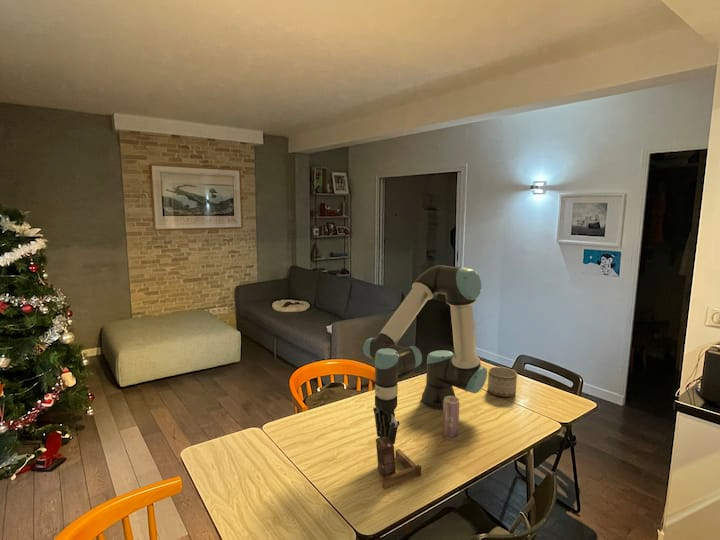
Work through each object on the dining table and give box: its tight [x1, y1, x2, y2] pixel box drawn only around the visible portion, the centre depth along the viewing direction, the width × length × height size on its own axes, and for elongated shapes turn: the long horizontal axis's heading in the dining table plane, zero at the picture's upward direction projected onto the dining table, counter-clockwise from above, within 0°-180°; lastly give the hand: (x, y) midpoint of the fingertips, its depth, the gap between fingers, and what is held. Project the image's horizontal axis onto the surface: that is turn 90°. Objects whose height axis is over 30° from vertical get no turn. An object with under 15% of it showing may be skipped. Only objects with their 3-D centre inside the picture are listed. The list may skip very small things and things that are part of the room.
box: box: [375, 436, 397, 478], centre depth 132 cm, size 6×4×12 cm
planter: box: [487, 366, 518, 398], centre depth 192 cm, size 13×13×10 cm
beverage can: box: [441, 396, 460, 440], centre depth 155 cm, size 6×6×15 cm
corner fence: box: [381, 448, 422, 490], centre depth 135 cm, size 12×14×3 cm
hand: (385, 459), depth 140 cm, fingers closed
